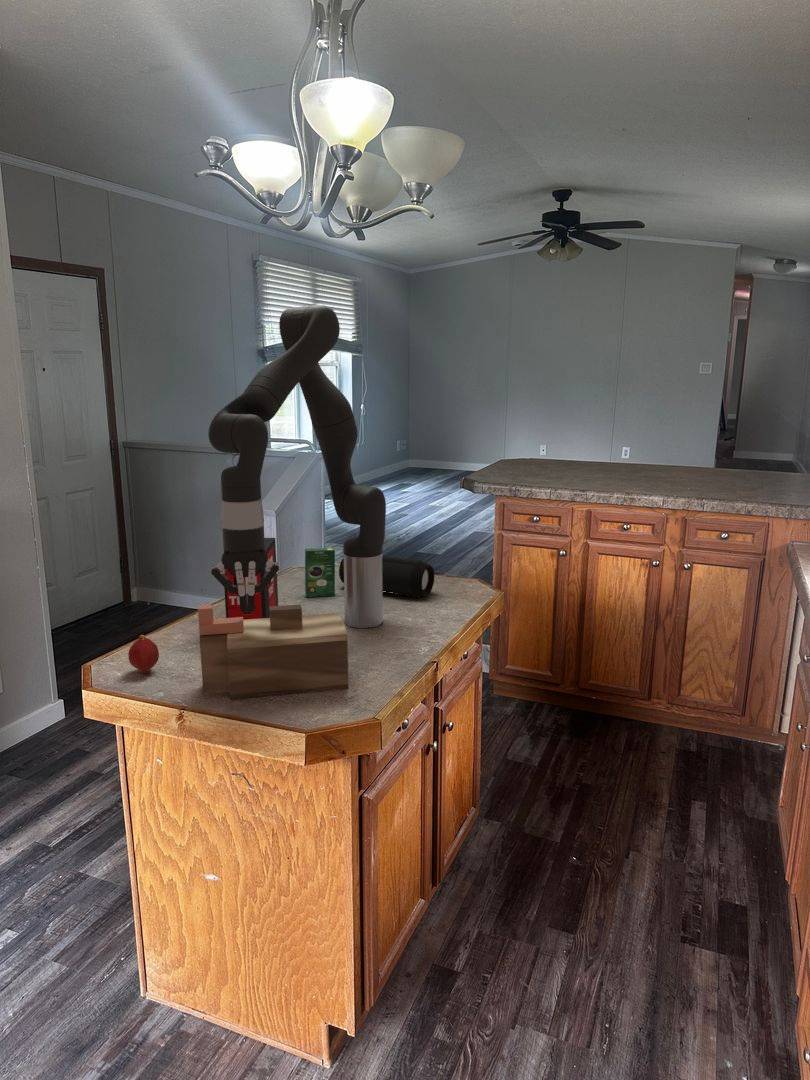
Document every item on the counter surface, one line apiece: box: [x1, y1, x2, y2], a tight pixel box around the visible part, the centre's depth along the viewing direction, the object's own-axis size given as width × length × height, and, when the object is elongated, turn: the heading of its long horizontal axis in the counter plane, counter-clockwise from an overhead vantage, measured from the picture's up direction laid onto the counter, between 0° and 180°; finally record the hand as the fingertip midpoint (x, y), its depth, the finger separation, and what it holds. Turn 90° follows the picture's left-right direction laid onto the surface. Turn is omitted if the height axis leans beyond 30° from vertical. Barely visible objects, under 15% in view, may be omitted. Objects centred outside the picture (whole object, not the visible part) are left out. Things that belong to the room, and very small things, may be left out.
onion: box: [128, 634, 160, 674], centre depth 147 cm, size 6×6×8 cm
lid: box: [227, 604, 349, 650], centre depth 140 cm, size 13×22×6 cm, turn 102°
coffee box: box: [304, 547, 336, 598], centre depth 196 cm, size 8×3×13 cm, turn 102°
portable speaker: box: [338, 555, 435, 598], centre depth 200 cm, size 26×10×10 cm, turn 63°
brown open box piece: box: [199, 633, 349, 701], centre depth 141 cm, size 12×27×11 cm, turn 102°
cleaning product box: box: [223, 537, 279, 620], centre depth 171 cm, size 16×9×20 cm, turn 0°
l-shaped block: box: [197, 603, 244, 636], centre depth 137 cm, size 3×8×5 cm, turn 102°
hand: (247, 613), depth 138 cm, fingers closed
